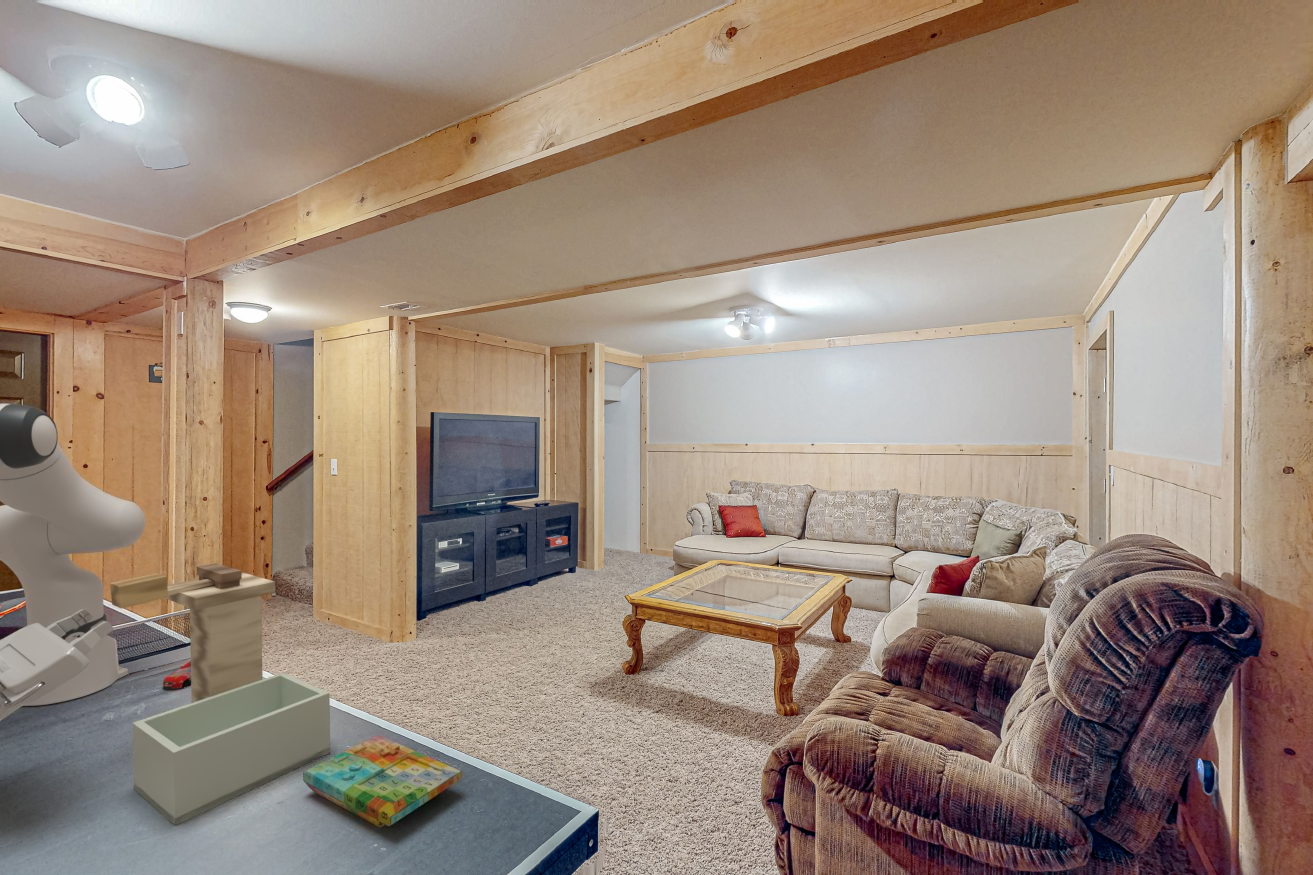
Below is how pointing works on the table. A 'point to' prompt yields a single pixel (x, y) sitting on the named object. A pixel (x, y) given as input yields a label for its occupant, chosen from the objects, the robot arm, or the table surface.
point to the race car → (179, 678)
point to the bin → (228, 744)
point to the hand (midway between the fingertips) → (98, 618)
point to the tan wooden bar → (148, 589)
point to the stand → (224, 629)
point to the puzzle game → (380, 780)
